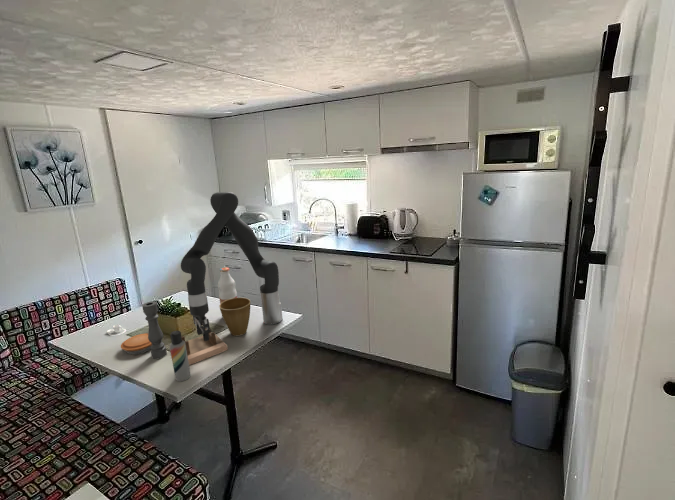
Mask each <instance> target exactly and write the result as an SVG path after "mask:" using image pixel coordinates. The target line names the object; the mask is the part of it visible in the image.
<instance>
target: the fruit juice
mask: <svg viewBox="0 0 675 500" xmlns="http://www.w3.org/2000/svg"><path fill="white" fill-rule="evenodd" d="M219 273H220V278H219V279H218V283H217V288H218V290H219V291H218V299H219V305H220V304H221V303H222V302H224V301H226V300H228V299H232V298H238V292H237V289H236V281H235V280H234V278H233V277H232V276H231V274H230V267H221V268H219ZM221 317H222V319H223V316H222V315H221Z"/></svg>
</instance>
